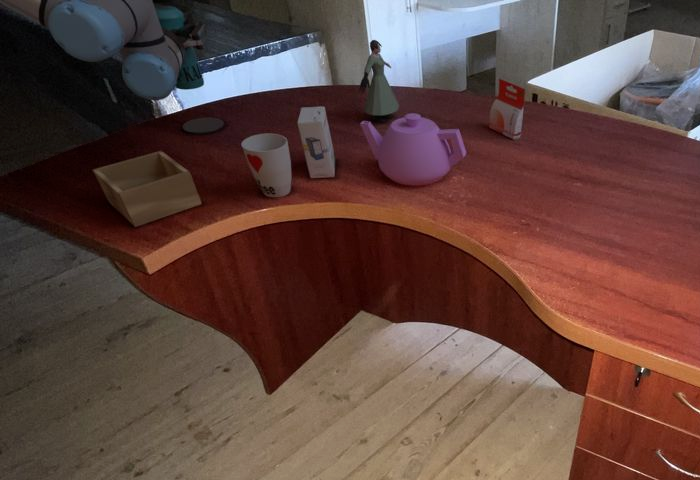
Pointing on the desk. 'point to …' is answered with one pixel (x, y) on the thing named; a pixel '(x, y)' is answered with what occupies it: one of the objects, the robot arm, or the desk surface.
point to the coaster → (203, 125)
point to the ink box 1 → (316, 142)
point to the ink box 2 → (508, 109)
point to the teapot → (414, 150)
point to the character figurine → (378, 86)
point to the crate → (148, 187)
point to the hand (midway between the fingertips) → (173, 21)
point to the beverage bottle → (190, 67)
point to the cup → (269, 163)
